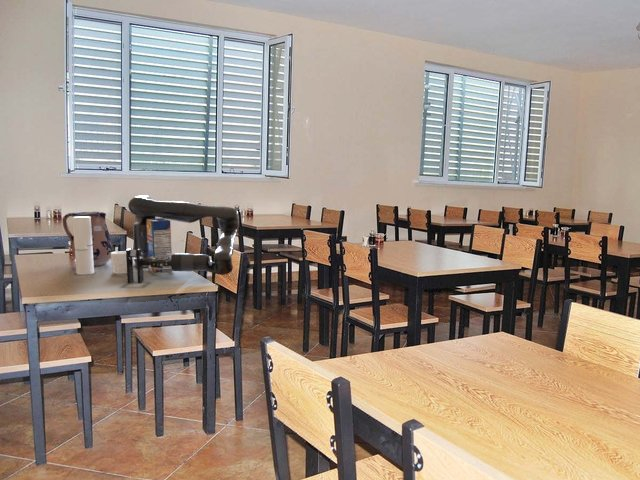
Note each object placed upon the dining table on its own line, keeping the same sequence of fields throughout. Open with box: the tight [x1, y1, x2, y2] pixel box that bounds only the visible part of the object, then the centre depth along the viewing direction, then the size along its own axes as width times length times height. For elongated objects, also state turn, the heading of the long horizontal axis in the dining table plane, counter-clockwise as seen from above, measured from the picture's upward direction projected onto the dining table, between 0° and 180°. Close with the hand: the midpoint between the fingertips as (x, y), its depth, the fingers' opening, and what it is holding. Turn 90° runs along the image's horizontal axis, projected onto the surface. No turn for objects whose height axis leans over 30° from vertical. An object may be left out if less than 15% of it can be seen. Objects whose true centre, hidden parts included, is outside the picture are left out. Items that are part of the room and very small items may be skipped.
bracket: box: [125, 248, 145, 284], centre depth 264 cm, size 10×8×15 cm
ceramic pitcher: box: [62, 211, 114, 267], centre depth 306 cm, size 18×21×25 cm
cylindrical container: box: [72, 216, 95, 276], centre depth 286 cm, size 7×7×25 cm
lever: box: [130, 249, 152, 263], centre depth 268 cm, size 14×7×2 cm, turn 4°
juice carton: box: [146, 217, 173, 274], centre depth 290 cm, size 12×8×24 cm, turn 34°
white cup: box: [110, 250, 127, 275], centre depth 285 cm, size 8×8×10 cm
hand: (142, 262), depth 274 cm, fingers closed on lever, 2 cm apart
